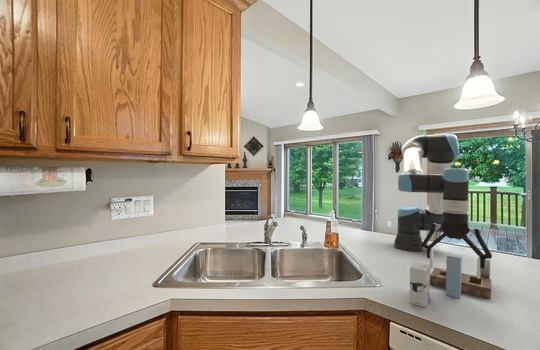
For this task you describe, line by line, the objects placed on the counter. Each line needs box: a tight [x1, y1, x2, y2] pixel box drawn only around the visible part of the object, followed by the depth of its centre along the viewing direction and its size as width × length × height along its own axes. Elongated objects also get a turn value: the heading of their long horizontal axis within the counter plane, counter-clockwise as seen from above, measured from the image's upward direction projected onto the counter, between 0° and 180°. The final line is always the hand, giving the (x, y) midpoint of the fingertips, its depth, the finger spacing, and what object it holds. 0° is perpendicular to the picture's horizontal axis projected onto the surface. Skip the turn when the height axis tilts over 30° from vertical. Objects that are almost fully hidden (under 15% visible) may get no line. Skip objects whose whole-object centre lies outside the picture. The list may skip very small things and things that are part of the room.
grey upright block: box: [480, 258, 491, 279], centre depth 103 cm, size 3×6×10 cm, turn 139°
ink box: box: [409, 261, 431, 308], centre depth 88 cm, size 8×5×12 cm, turn 141°
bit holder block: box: [430, 267, 492, 300], centre depth 100 cm, size 18×11×4 cm, turn 49°
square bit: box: [445, 252, 463, 299], centre depth 93 cm, size 4×4×14 cm
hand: (454, 272), depth 93 cm, fingers open, 13 cm apart
